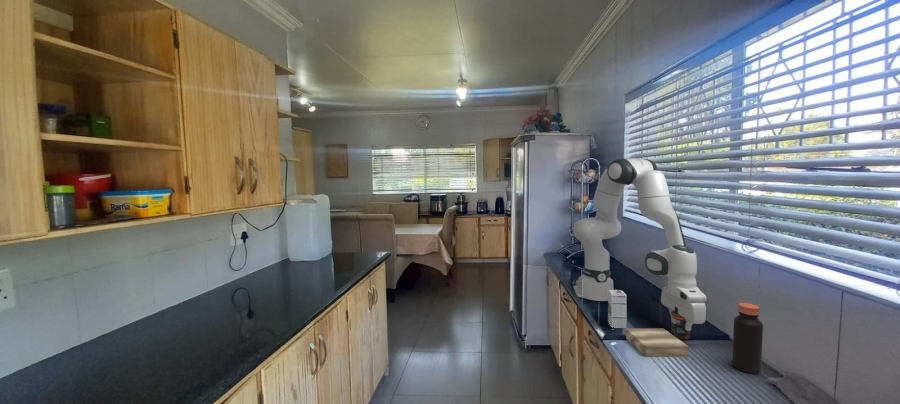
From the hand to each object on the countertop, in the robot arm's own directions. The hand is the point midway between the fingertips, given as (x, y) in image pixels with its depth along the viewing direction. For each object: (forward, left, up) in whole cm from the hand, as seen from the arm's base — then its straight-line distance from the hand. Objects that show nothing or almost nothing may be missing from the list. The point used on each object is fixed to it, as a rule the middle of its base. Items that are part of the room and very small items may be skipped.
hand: (680, 325), depth 127 cm
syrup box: (-8, -20, -4) cm, 22 cm away
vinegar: (+22, +6, -4) cm, 23 cm away
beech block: (+8, -14, -5) cm, 17 cm away
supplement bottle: (0, 0, -4) cm, 4 cm away
